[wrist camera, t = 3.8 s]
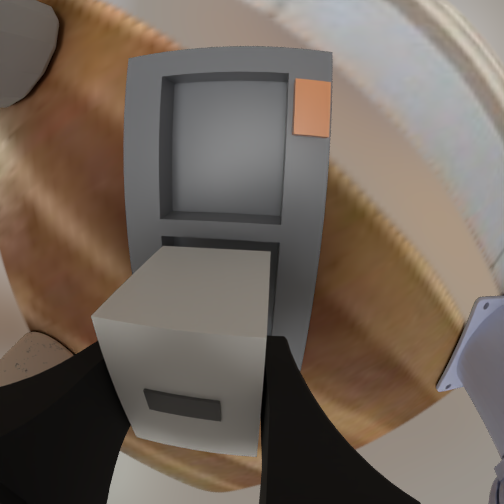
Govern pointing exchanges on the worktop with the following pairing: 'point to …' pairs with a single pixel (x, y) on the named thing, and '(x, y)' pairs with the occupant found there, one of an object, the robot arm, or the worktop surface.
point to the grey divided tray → (233, 163)
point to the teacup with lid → (31, 357)
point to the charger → (190, 347)
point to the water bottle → (24, 46)
